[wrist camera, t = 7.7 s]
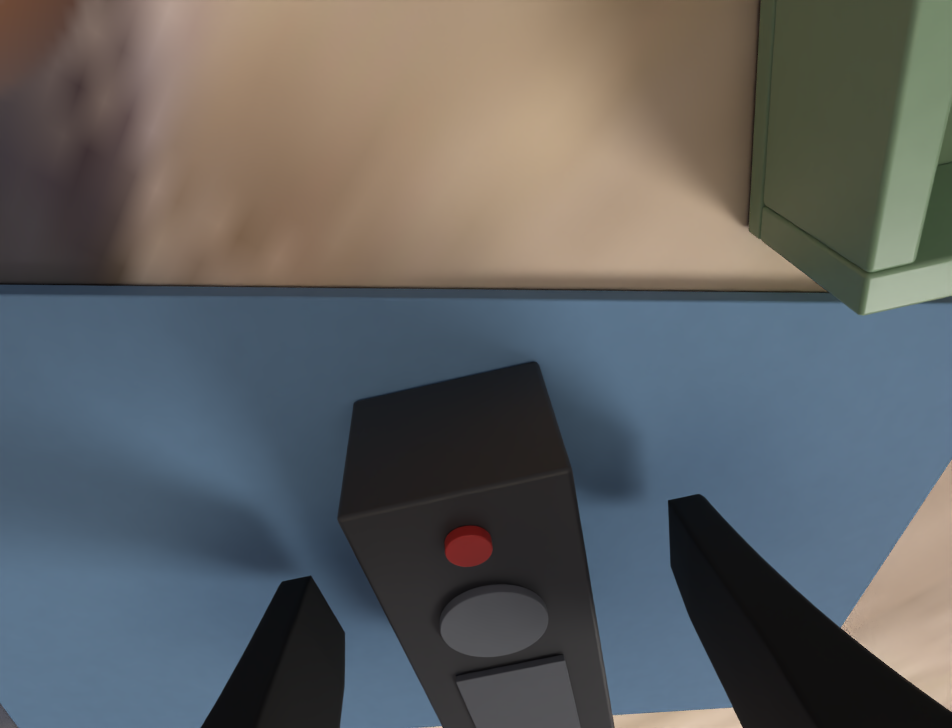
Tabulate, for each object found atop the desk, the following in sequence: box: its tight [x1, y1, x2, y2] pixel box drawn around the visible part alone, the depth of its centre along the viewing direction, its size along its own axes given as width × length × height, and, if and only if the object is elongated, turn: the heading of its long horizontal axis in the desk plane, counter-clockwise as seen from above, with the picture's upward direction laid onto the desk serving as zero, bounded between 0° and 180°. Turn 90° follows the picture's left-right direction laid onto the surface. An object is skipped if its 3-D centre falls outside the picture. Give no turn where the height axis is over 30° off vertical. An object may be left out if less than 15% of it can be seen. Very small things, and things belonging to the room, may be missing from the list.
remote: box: [337, 362, 615, 728], centre depth 11 cm, size 8×3×3 cm, turn 12°
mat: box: [0, 285, 952, 728], centre depth 14 cm, size 14×22×1 cm, turn 87°
